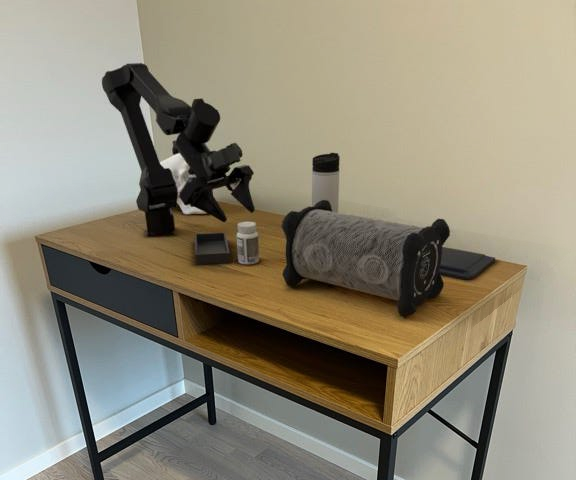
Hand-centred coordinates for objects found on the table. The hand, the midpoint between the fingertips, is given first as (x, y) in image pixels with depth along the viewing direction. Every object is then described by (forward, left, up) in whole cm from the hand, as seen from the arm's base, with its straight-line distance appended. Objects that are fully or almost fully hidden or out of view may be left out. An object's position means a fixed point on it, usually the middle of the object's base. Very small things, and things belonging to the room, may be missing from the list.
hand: (239, 216), depth 128 cm
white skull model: (-12, +48, -10) cm, 51 cm away
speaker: (+21, -23, -10) cm, 33 cm away
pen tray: (-6, +6, -10) cm, 13 cm away
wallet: (+43, -9, -10) cm, 45 cm away
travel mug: (+21, +10, -10) cm, 25 cm away
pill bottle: (+1, -1, -10) cm, 10 cm away
